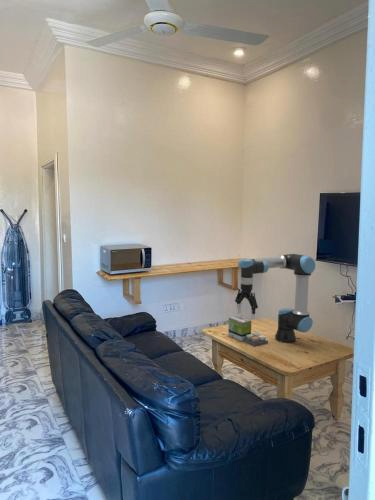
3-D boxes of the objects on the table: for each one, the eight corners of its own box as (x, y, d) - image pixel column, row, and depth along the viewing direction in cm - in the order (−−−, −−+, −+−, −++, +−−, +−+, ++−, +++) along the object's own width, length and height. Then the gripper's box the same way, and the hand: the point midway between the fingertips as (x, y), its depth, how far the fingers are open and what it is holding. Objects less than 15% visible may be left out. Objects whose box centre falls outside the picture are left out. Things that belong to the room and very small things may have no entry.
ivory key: (261, 339, 283) (261, 334, 282) (265, 341, 279) (265, 336, 279) (257, 340, 281) (257, 335, 280) (261, 342, 277) (261, 337, 276)
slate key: (256, 337, 288) (256, 332, 287) (260, 339, 284) (260, 334, 283) (252, 338, 285) (252, 333, 285) (256, 340, 282) (256, 335, 281)
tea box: (227, 336, 294) (228, 317, 293) (237, 333, 300) (237, 315, 298) (241, 341, 282) (242, 322, 281) (251, 339, 288) (252, 319, 287)
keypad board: (257, 338, 289) (257, 336, 289) (268, 343, 279) (268, 340, 279) (243, 341, 283) (243, 338, 282) (254, 346, 272) (254, 344, 272)
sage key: (250, 338, 284) (250, 334, 284) (254, 340, 281) (254, 335, 280) (245, 339, 282) (245, 335, 282) (249, 341, 279) (249, 336, 278)
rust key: (255, 341, 280) (255, 336, 279) (259, 342, 276) (259, 338, 276) (250, 342, 278) (250, 337, 277) (254, 344, 274) (254, 339, 273)
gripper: (230, 280, 255) (229, 312, 258) (254, 287, 234) (253, 321, 236) (239, 279, 259) (238, 310, 261) (264, 286, 238) (263, 320, 240)
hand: (245, 316), depth 249 cm, fingers open, 13 cm apart
